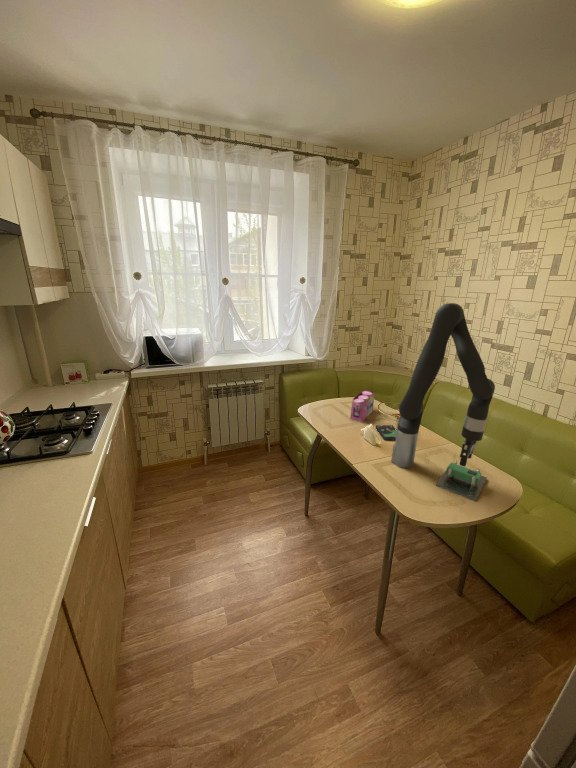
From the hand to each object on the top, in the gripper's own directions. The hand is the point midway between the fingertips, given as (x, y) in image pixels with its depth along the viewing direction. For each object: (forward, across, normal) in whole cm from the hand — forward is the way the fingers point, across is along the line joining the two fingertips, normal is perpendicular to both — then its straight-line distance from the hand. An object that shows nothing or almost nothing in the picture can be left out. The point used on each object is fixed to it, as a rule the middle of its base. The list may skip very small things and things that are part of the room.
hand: (465, 461), depth 133 cm
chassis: (+10, 0, +1) cm, 10 cm away
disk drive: (+12, -21, -43) cm, 50 cm away
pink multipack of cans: (+12, -35, -68) cm, 78 cm away
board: (+7, 0, 0) cm, 7 cm away
